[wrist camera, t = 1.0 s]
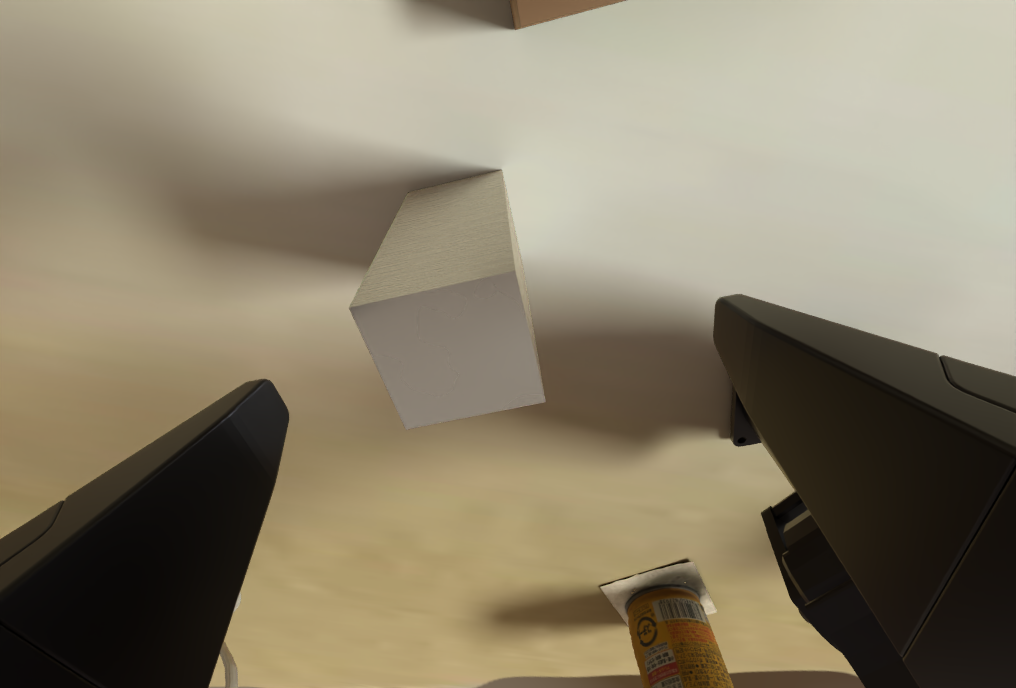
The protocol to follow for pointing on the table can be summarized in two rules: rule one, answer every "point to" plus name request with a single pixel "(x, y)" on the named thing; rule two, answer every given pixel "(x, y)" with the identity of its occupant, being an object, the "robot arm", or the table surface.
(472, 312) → the grey long rectangular block
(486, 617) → the table surface
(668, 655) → the condiment
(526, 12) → the block
